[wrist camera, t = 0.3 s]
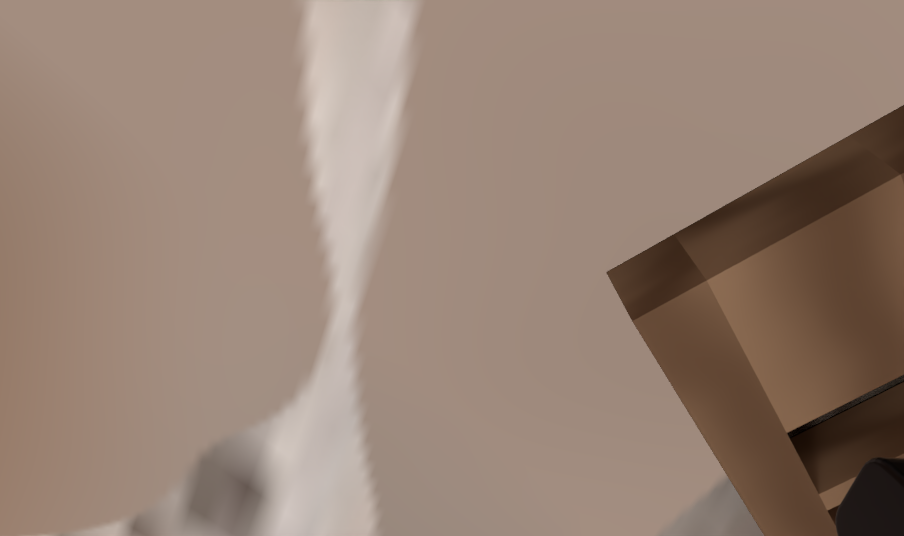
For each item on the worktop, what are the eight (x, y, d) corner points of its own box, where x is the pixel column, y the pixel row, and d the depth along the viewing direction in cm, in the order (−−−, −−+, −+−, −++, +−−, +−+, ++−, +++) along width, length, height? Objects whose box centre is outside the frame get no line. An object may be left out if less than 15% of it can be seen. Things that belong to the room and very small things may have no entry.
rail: (817, 618, 36) (848, 672, 34) (606, 272, 25) (632, 320, 23) (1042, 516, 34) (1089, 567, 32) (925, 93, 23) (985, 127, 21)
